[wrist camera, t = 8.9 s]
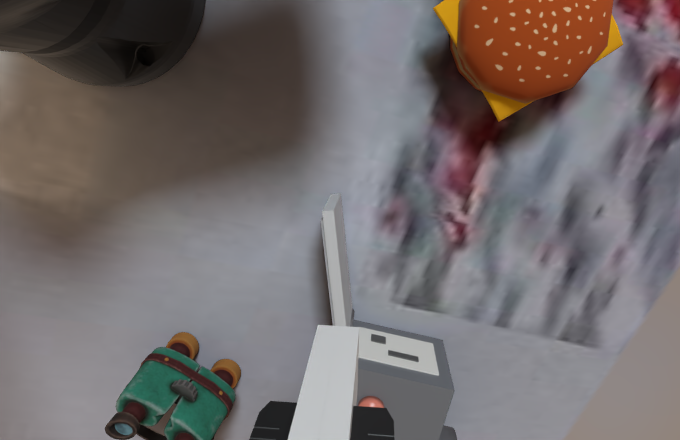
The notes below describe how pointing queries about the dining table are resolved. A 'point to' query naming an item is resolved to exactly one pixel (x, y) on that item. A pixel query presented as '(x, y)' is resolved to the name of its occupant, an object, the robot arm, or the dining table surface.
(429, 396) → the camera body
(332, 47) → the dining table surface
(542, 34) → the hamburger
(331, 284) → the side door
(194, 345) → the binoculars
